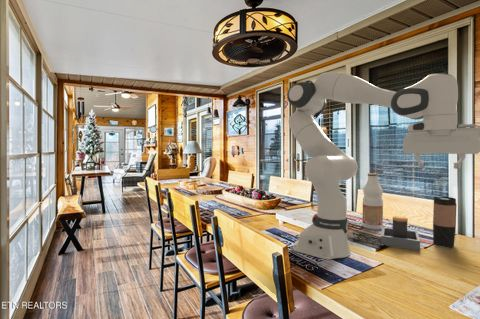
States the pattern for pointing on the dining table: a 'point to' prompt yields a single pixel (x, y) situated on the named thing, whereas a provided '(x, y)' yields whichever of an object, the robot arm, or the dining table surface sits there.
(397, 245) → the open square box
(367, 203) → the fruit juice
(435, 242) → the travel mug
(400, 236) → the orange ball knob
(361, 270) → the dining table surface
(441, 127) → the robot arm
